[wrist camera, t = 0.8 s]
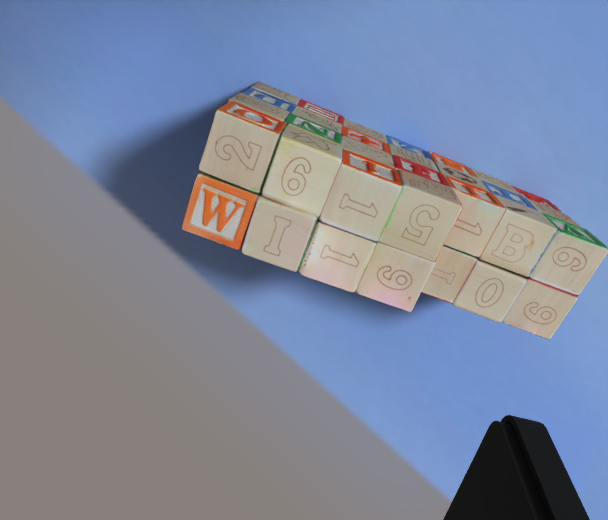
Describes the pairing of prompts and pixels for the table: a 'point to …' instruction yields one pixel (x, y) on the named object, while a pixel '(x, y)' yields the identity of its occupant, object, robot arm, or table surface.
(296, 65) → the table surface
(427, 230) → the stack of blocks
